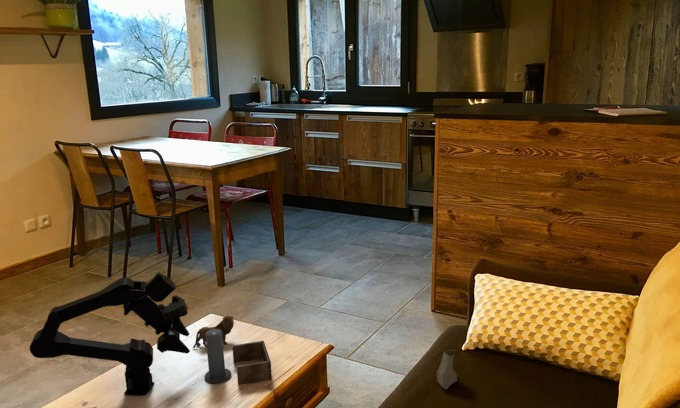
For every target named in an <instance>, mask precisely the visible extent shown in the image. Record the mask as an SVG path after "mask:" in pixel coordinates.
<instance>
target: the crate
mask: <svg viewBox="0 0 680 408" xmlns="http://www.w3.org/2000/svg"><path fill="white" fill-rule="evenodd" d="M231 347H232V359H233V364H238V363H239V364H240V363H246V362H253V361H258V360H259V361H260V362H259V361H258V362H253V363H248V364H242V365H236V376H237V377H236V378H237V386H239V387H240V386H244V385H249V384H256V383H261V382H268V381H272V380H273V377H272V364H271V363H272V362H271V358H270V354H269V353H268V350H267V346H266V343H265V341H264V340H257V341H252V342H247V343H245V342H244V343H239V344H232V346H231ZM261 360H262V361H261Z"/></svg>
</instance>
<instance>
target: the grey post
mask: <svg viewBox="0 0 680 408" xmlns="http://www.w3.org/2000/svg"><path fill="white" fill-rule="evenodd" d="M205 335H206V345H207V348H206V355H207V363H208V371H209V377H210V378H211V379H220V378H223V377H224V376H225V368H226V365H225V364H226V363H225V353H224V344H223V339H222V331H221V330H219V329H213V330H209V331H207V332H206V333H205Z"/></svg>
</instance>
